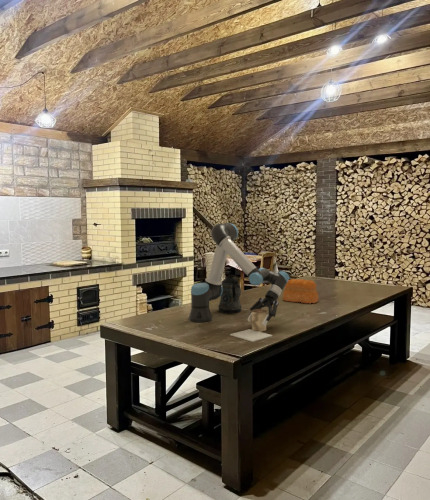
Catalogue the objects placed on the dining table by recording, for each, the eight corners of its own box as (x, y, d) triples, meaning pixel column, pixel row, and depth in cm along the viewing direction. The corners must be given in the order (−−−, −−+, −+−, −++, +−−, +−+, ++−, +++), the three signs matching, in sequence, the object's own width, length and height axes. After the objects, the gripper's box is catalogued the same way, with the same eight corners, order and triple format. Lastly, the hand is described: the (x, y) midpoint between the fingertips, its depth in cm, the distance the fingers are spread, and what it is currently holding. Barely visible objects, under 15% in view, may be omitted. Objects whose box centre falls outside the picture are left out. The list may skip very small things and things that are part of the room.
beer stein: (225, 307, 324) (225, 273, 322) (249, 310, 314) (249, 275, 312) (214, 312, 310) (213, 276, 308) (238, 315, 300) (238, 278, 298)
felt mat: (229, 335, 251) (229, 334, 251) (249, 330, 262) (249, 329, 261) (252, 342, 238) (252, 340, 237) (272, 336, 248) (272, 335, 248)
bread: (312, 304, 331) (313, 282, 329) (281, 301, 345) (281, 279, 344) (320, 301, 344) (320, 279, 342) (289, 297, 358) (289, 276, 357)
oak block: (251, 330, 261) (251, 310, 260) (258, 328, 265) (258, 308, 264) (259, 332, 257) (259, 311, 256) (266, 330, 261) (266, 310, 260)
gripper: (291, 300, 261) (274, 330, 252) (261, 294, 279) (244, 323, 270) (285, 292, 257) (268, 323, 248) (256, 287, 275) (238, 315, 266)
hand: (255, 323), depth 259 cm, fingers open, 11 cm apart
